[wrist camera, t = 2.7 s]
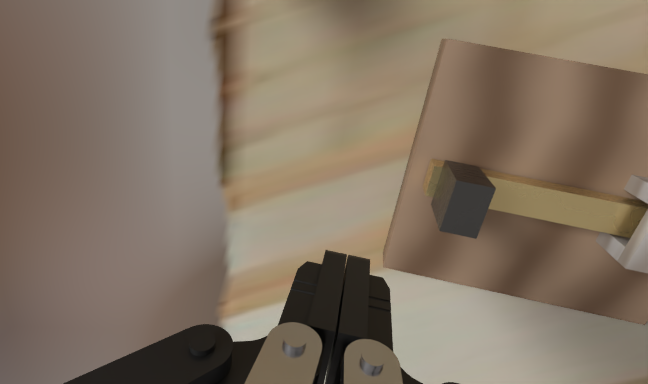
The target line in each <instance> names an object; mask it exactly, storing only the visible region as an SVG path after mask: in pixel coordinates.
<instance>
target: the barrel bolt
mask: <svg viewBox="0 0 648 384" xmlns="http://www.w3.org/2000/svg"><path fill="white" fill-rule="evenodd" d="M423 190H424V193H425V196H430V197H433V199H432V202H431V206H432V209H433V213H434V216H435V219H436V222H437V225H438V228H439V231H442V232H446V233H451V234H456V235H461V236H465V237H470V238H475V239H477V236H478V234H479V231H480V228H481V226H482V223H483V221H484V218H485V216H486V213H487V211H488V209H492V210H497V211H502V212H507V213H512V214H517V215H521V216H526V217H531V218H536V219H541V220H546V221H550V222H555V223H560V224H565V225H570V226H575V227H579V228H584V229H589V230H594V231H599V232H604V233H608V234H613V235H618V236H623V237H628V238H631V237H632V235H633V233H634V232H635V230H636V228H637V226H638V225H639V223H640V221H641V220H642V218H643V216H644V215H645V213H646V211H647V210H648V204H647V203H645V202H644V201H641V200H636V199H631V198H626V197H621V196H616V195H611V194H606V193H601V192H596V191H591V190H586V189H581V188H576V187H571V186H566V185H561V184H556V183H551V182H546V181H541V180H536V179H531V178H526V177H521V176H516V175H511V174H506V173H501V172H496V171H491V170H486V169H481V168H480V167H479V166H474V165H469V164H464V163H459V162H454V161H449V160H445V161H441V160H436V159H431V160H430V163H429V167H428V170H427V173H426V177H425V180H424V183H423Z"/></svg>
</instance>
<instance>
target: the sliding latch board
mask: <svg viewBox="0 0 648 384" xmlns="http://www.w3.org/2000/svg"><path fill="white" fill-rule="evenodd" d="M431 159H436V160H441V161H445V160H449V161H454V162H459V163H464V164H469V165H474V166H479V167H480V168H481V169H486V170H491V171H496V172H501V173H506V174H511V175H516V176H521V177H526V178H531V179H536V180H541V181H546V182H551V183H556V184H561V185H566V186H571V187H576V188H581V189H586V190H591V191H596V192H601V193H606V194H611V195H616V196H621V197H626V198H631V199H636V200H641V201H644V202H645V203H647V204H648V75H647V74H642V73H636V72H630V71H625V70H619V69H614V68H608V67H603V66H597V65H591V64H586V63H580V62H575V61H569V60H563V59H558V58H552V57H547V56H541V55H536V54H530V53H524V52H519V51H513V50H508V49H502V48H496V47H491V46H485V45H480V44H474V43H468V42H463V41H457V40H452V39H442V40H441V44H440V48H439V51H438V55H437V58H436V62H435V66H434V69H433V73H432V77H431V80H430V84H429V88H428V91H427V95H426V98H425V102H424V106H423V109H422V113H421V117H420V120H419V124H418V128H417V131H416V135H415V138H414V142H413V146H412V149H411V153H410V157H409V160H408V164H407V168H406V171H405V175H404V179H403V182H402V186H401V189H400V193H399V197H398V200H397V204H396V208H395V211H394V215H393V219H392V222H391V226H390V229H389V233H388V237H387V240H386V244H385V248H384V251H383V267H385V268H389V269H394V270H398V271H403V272H407V273H412V274H416V275H421V276H426V277H430V278H435V279H439V280H444V281H448V282H453V283H457V284H462V285H466V286H471V287H475V288H480V289H484V290H489V291H493V292H498V293H503V294H507V295H512V296H516V297H521V298H525V299H530V300H534V301H539V302H543V303H548V304H552V305H557V306H561V307H566V308H570V309H575V310H579V311H584V312H589V313H593V314H598V315H602V316H607V317H611V318H616V319H620V320H625V321H629V322H634V323H638V324H643V325H645V324H646V322H647V321H648V210H647V211H646V213H645V215H644V216H643V218H642V220H641V221H640V223H639V225H638V226H637V228H636V230H635V232H634V233H633V235H632V237H631V238H628V237H623V236H618V235H613V234H608V233H604V232H599V231H594V230H589V229H584V228H579V227H575V226H570V225H565V224H560V223H555V222H550V221H546V220H541V219H536V218H531V217H526V216H521V215H517V214H512V213H507V212H502V211H497V210H492V209H488V211H487V213H486V216H485V218H484V221H483V223H482V226H481V228H480V231H479V234H478V236H477V239H475V238H470V237H465V236H461V235H456V234H451V233H446V232H442V231H439V228H438V225H437V222H436V219H435V216H434V213H433V209H432V206H431V202H432V199H433V197H430V196H425V193H424V190H423V183H424V180H425V177H426V173H427V170H428V167H429V163H430V160H431Z"/></svg>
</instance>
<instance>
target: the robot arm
mask: <svg viewBox="0 0 648 384" xmlns="http://www.w3.org/2000/svg"><path fill="white" fill-rule="evenodd" d="M346 257H347V254H342V253H337V252H333V251H328V250H326V251H325V255H324V259H323V263H322V264H317V263H313V262H308V261H307V262H306V263H305V264H303V265H302V266H301V267H300V268H298V270H297V273H296V276H295V278H294V281H293V284H292V287H291V290H290V293H289V295H288V298H287V301H286V304H285V307H284V310H283V312H282V315H281V318H280V321H279V324H278V326H276V327H275V328H273V329H272V330H271V331H270V333H269V334H268V336H266V337H264V338H261V339H258V340H254V341H240V342H233V341H232V338H231V336H230V334H229V333H228V332H227V331H226V330H224V329H223V328H221V327H219V326H215V325H209V324H203V325H196V326H193V327H190V328H188V329H185V330H183V331H181V332H179V333H176V334H174V335H172V336H170V337H167V338H165V339H163V340H161V341H158V342H156V343H154V344H151V345H149V346H147V347H145V348H142V349H140V350H138V351H136V352H134V353H131V354H129V355H127V356H125V357H122V358H120V359H118V360H115V361H113V362H111V363H109V364H107V365H104V366H102V367H100V368H97V369H95V370H93V371H91V372H88V373H86V374H84V375H82V376H79V377H77V378H75V379H73V380H70V381H68V382H66V383H64V384H324V380H325V375H326V381H325V384H423V383H421V382H419V381H417V380H415V379H414V378H412V377H411V376H409V375H408V374H407V373H406V372H405V371H404V370H403V369H402V368H401V367H400V364H399V361H398V358H397V357H396V355H395V354H394V353H393V342H392V323H391V303H390V289H389V287H388V285H387V284H386V282H385V280H384V279H383V278H382V277H377V276H372V275H370V259H366V258H361V257H356V256H352V255H348V258H347V263H346ZM345 264H346V267H345ZM344 271H345V272H344ZM327 367H328V368H327ZM326 371H327V374H326ZM443 384H459V383H453V382H448V383H443Z"/></svg>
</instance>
